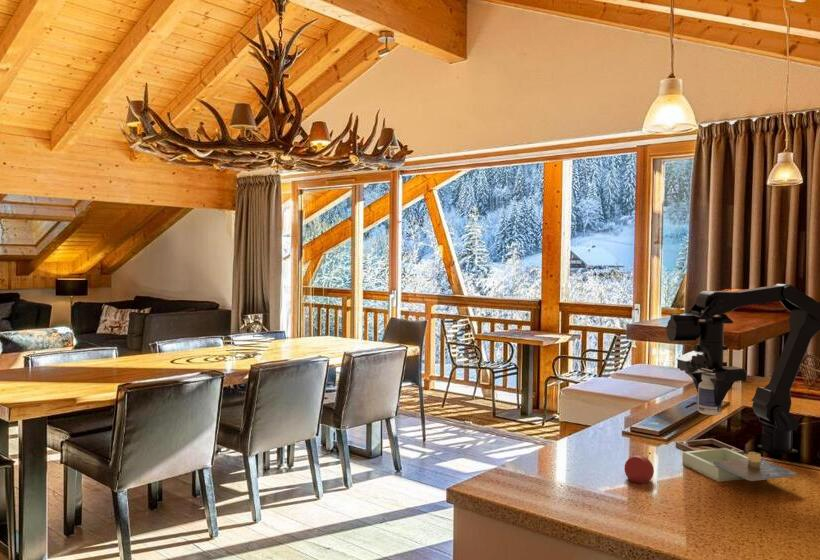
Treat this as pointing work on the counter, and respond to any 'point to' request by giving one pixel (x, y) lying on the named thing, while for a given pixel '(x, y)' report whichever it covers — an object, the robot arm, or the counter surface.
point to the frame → (703, 442)
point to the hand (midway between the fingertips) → (709, 402)
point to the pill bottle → (707, 396)
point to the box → (705, 466)
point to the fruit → (639, 469)
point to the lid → (754, 468)
